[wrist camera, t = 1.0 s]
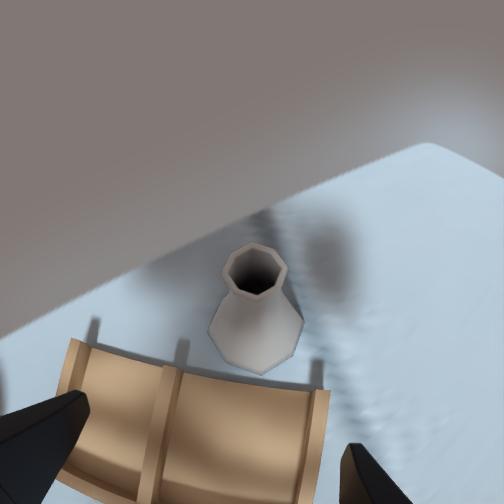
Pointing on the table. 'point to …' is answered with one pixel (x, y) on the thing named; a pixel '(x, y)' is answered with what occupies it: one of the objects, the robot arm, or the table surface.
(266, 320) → the flask
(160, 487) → the rack
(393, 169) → the table surface
